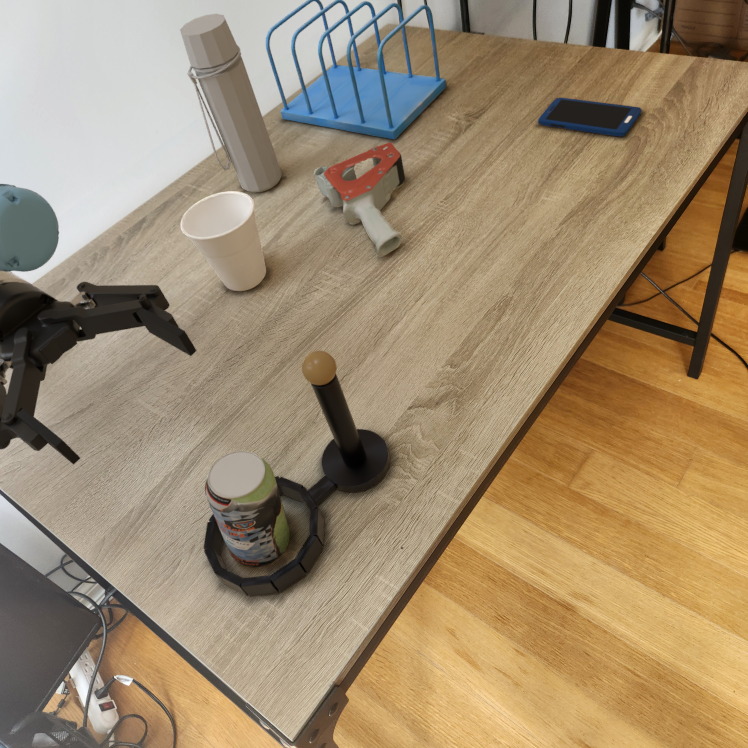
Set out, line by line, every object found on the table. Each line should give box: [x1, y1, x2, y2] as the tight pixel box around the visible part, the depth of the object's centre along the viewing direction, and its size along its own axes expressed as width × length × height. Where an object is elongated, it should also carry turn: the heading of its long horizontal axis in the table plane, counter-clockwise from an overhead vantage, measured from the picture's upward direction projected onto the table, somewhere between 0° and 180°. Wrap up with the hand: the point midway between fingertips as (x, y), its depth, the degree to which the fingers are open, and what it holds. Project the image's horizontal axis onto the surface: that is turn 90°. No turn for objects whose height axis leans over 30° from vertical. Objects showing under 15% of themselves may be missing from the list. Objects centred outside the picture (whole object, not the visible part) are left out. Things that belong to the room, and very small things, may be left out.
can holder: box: [203, 350, 391, 598], centre depth 59 cm, size 13×20×17 cm, turn 152°
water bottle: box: [179, 13, 283, 194], centre depth 97 cm, size 9×8×25 cm
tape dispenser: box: [313, 142, 406, 257], centre depth 94 cm, size 18×5×20 cm
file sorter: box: [265, 0, 447, 140], centre depth 111 cm, size 25×17×15 cm
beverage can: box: [204, 450, 291, 568], centre depth 59 cm, size 6×7×12 cm
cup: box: [180, 190, 267, 292], centre depth 87 cm, size 10×10×11 cm
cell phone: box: [537, 97, 642, 138], centre depth 100 cm, size 7×14×1 cm, turn 56°
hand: (131, 395), depth 56 cm, fingers open, 13 cm apart
